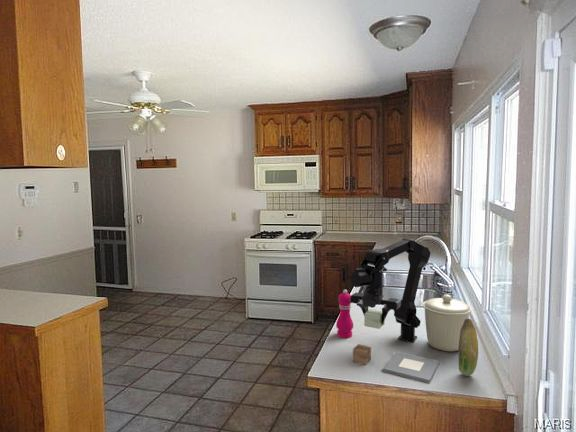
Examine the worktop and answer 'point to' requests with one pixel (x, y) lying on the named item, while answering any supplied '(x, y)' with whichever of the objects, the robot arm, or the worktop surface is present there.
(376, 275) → the robot arm
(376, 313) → the green block
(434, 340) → the canister
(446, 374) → the worktop surface
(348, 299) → the pepper mill
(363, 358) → the walnut block
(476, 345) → the vegetable
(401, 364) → the build board
